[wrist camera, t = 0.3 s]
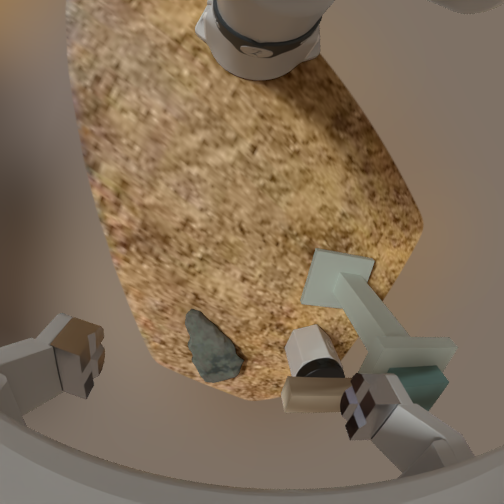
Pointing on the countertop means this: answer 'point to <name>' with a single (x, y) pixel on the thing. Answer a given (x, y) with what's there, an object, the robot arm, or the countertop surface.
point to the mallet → (331, 389)
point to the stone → (211, 349)
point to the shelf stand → (370, 314)
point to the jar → (312, 354)
